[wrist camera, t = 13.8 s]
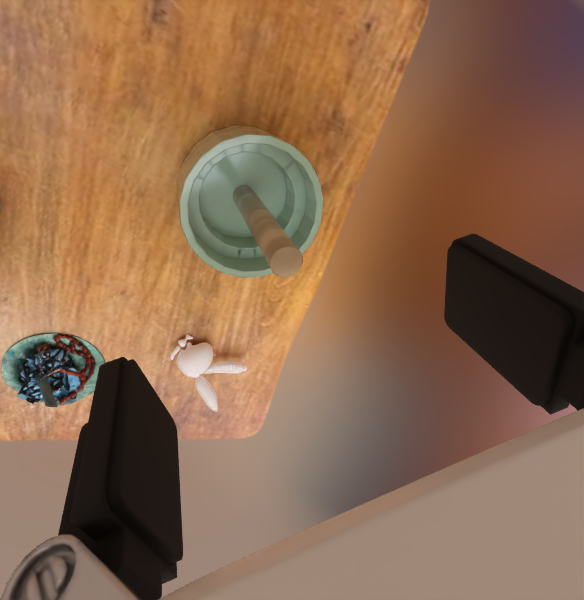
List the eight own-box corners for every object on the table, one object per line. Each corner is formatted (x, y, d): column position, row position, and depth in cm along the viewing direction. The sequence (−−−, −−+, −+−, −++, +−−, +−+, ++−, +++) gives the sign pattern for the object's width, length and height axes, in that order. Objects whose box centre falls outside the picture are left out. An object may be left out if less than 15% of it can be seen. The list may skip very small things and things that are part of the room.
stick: (229, 188, 32) (266, 252, 21) (251, 182, 32) (299, 241, 21) (236, 210, 33) (274, 282, 22) (257, 203, 34) (306, 271, 22)
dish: (-22, 356, 32) (45, 412, 31) (54, 307, 36) (113, 355, 36) (-1, 388, 38) (55, 435, 37) (62, 342, 42) (112, 384, 42)
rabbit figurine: (200, 318, 39) (255, 368, 40) (194, 324, 42) (245, 370, 43) (158, 360, 36) (218, 413, 37) (156, 363, 40) (210, 412, 41)
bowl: (155, 145, 30) (154, 160, 25) (286, 109, 31) (309, 116, 26) (203, 264, 36) (209, 294, 31) (310, 229, 37) (332, 253, 32)
